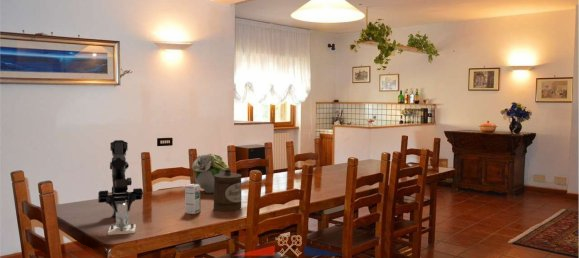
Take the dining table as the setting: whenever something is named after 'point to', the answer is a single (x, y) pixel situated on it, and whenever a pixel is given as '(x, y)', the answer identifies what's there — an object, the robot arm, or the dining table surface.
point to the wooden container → (227, 191)
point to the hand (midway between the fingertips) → (122, 211)
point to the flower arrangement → (208, 170)
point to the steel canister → (122, 214)
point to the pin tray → (121, 229)
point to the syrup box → (192, 199)
